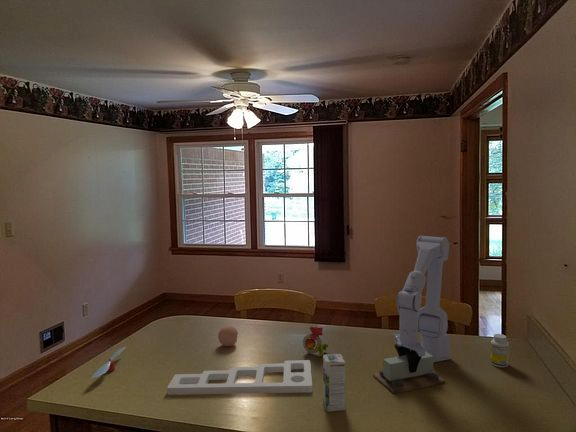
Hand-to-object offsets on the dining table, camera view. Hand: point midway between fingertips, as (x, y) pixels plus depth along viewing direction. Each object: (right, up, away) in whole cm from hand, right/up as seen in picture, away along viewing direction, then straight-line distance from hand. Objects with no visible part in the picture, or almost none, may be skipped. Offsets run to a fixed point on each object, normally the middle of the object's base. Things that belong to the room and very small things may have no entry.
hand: (408, 369), depth 136 cm
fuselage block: (0, -2, 0) cm, 2 cm away
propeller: (-102, -5, +12) cm, 102 cm away
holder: (-54, -5, +3) cm, 54 cm away
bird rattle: (-29, -3, +21) cm, 36 cm away
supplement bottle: (+34, -2, +9) cm, 35 cm away
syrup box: (-26, -6, -14) cm, 30 cm away
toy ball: (-63, -2, +31) cm, 70 cm away
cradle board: (0, -4, 0) cm, 3 cm away
